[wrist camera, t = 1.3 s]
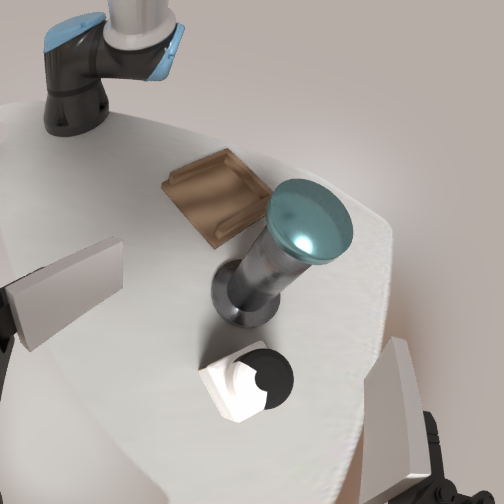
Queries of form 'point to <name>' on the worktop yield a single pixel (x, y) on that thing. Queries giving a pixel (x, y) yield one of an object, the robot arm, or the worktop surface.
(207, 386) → the medicine bottle
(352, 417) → the worktop surface
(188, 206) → the notched board
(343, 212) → the bobbin post
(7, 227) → the worktop surface
